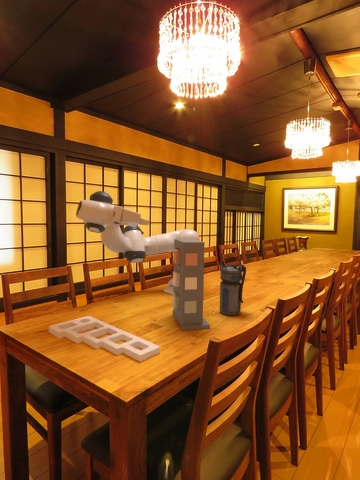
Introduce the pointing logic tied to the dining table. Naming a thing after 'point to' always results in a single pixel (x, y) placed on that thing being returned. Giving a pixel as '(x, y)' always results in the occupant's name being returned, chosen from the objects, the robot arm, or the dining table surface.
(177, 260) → the top terracotta button
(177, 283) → the middle cream button
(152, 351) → the holder
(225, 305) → the beverage bottle
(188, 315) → the button panel
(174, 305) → the bottom sage button
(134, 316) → the dining table surface
